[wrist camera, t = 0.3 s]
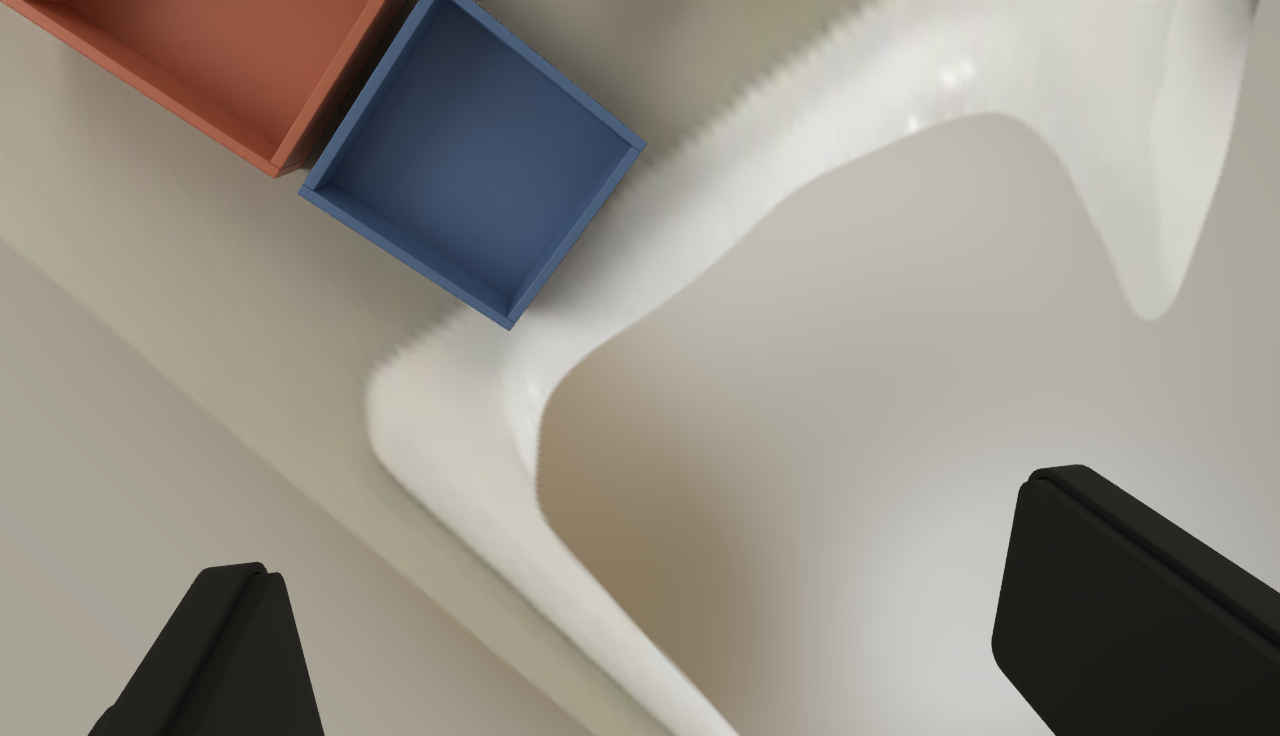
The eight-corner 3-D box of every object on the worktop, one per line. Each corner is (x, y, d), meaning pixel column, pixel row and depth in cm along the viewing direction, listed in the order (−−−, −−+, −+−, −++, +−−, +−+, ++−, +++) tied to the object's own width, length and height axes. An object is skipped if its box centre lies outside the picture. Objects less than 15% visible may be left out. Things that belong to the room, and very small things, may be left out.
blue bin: (445, -17, 33) (436, -29, 29) (634, 137, 37) (647, 143, 33) (319, 182, 35) (296, 193, 31) (509, 308, 39) (509, 331, 35)
